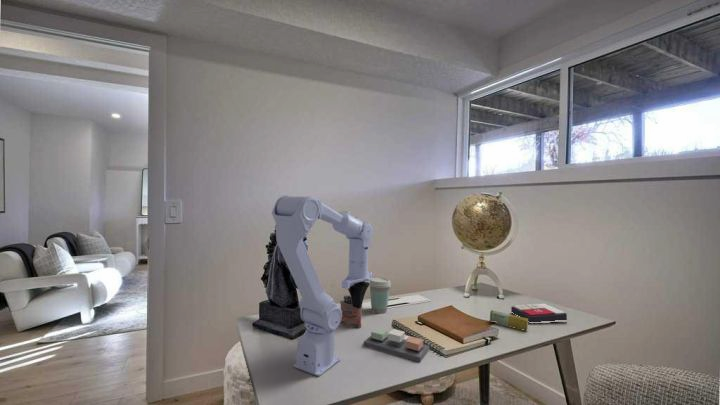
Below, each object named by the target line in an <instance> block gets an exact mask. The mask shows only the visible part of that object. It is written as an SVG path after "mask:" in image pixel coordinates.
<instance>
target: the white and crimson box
mask: <svg viewBox="0 0 720 405" xmlns="http://www.w3.org/2000/svg"><path fill="white" fill-rule="evenodd" d="M510 308H511V310H510V311H511V312H513V313H514V314H516V315H518V316H520V317H523V318H527V319H528V321H529V322H541V321H555V320H567V321H568V314H567V313H566V312H565V311H562V310H561V309H557V308H556V307H554V306H551V305H548V304H547V303H530V304H516V305H512V306H511V307H510ZM511 312H510V313H511ZM514 314H513V315H514Z"/></svg>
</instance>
